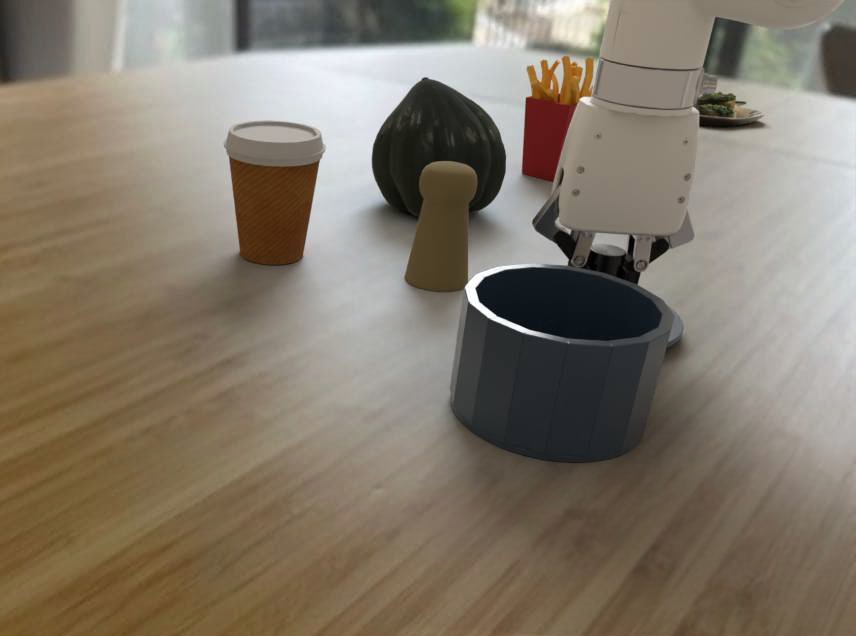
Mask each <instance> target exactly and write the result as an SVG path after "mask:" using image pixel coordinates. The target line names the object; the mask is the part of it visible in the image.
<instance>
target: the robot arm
mask: <svg viewBox="0 0 856 636" xmlns="http://www.w3.org/2000/svg"><path fill="white" fill-rule="evenodd" d="M844 1H845V0H609V4H608V10H607V15H606V19H605V25H604V30H603V34H602V40H601V46H600V50H599V56H598V59H597V65H596V71H595V75H594V81H593V84H594V85H592V86H593V90H592V95H591V97H582V98H580V100H579V102H578V104H577V107H576V109H575V112H574V114H573V117H572V120H571V123H570V126H569V129H568V132H567V135H566V138H565V142H564V145H563V149H562V152H561V156H560V160H559V163H558V167H557V171H556V175H555V179H554V181H553V184H552V187H551V192H550V193H551V194H550V197H549V198H548V199H547V200H546V201H545V203H544V204H543V205H542V207H541V208H540V209H539V211H538V212H537V213H536V215H535V216H534V218H533V219H532V221H531V224H532V227H533V229H534V231H535V232H536V233H538V234H539V235H541V236H543V237H544V238H546V239H547V240H549V241H551V242H553V243H554V244H556V246H557V247H558V248H559V250H560V251H561V252H562V254H564V256H565V257H566V258H567V265H566V266H572V267H577V268H582V269H587V270H590V268H589V267H588V256H589V252H590V249H591V246H592V245H593V243H594V240H595V237H596V234H609V235H625V236H627V238H626V245H625V251H626V257H625V262H624V266H623V270H622V274H621V279H623V280H626V281H629V282H631V283H634V284H637V285H639V282H640V277H641V274H642V273H643V272H645V271H646V270H647V269H648V268H649V265H650V264H651V263H653V262H654V261H656V260H657V259H659V258H660V257H662V255H664V254H665V253H667V252H668V251H669V250H673V249H676V248H678V247H680V246H683V245H685V244H689V243H690V242H692V241H693V240H694V239H695V231H694V227H693V223H692V221H691V216H690V214H689V210H688V207H689V202H690V198H691V192H692V188H693V183H694V176H695V171H696V165H697V164H696V163H697V156H698V146H699V145H698V144H699V134H700V133H699V132H700V125H699V111H698V110H697V109H696V108H694V107H693V104H696V103H697V99H698V98H699V97H700V96H702V95H703V94H704V93H707V94H713V93H716V90H717V88H718V83H719V82H718V81H719V79H718V76H717V75H711V74H708V73H706V72H705V71H706V68H704V63H705V59H706V56H707V51H708V47H709V45H710V40H711V35H712V31H713V27H714V23H715V20H716V18H720V19H725V20H730V21H734V22H739V23H744V24H749V25H752V26H755V27H760V28H764V29H770V30H778V31H779V30H780V31H781V30H782V31H787V30H796V29H800V28H805V27H807V26H810V25H813V24H815V23H818V22H820V21H822V20H823V19H825V18H826V17H828V16H829V15H830V14H832V13H833V12H834V11H835V10H837V9H838V8H839V7H840V6H841V5H842V4H843V3H844ZM557 220H558V222H559V224H560V225H559V224H558V223H556V221H557ZM567 229H568V230H570V233H569V232H568V231H567Z"/></svg>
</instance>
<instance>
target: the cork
mask: <svg viewBox="0 0 856 636" xmlns="http://www.w3.org/2000/svg"><path fill="white" fill-rule="evenodd" d="M477 183H478V182H477V175H476V173H475V171H474V170H473V169H472V168H471V167H470V166H468V165H465V164H462V163H458V162H452V161H439V162H433V163H431V164H429V165H427V166H426V167H425V168H424V169H423V171H422V174H421V176H420V181H419V188H420V193H421V194H422V196H423V198H424V200H423V204H422V208H421V212H420V216H419V217H418V220H417V225H416V229H415V233H414V237H413V241H412V244H411V245H412V246H411V249H410V253H409V257H408V262H407V265H406V270H405V274H404V279H405V281H406V282H407V283H409V285H411V286H414V287H415V288H419V289H422V290H425V291H430V292H439V293H440V292H446V293H447V292H456V291H460V290H464V287H465V285H466V284H467V283H468V282H469V213H468V203H469V202H470V201H471V200H472V199H473V198H474V195H475V193H476V190H477Z"/></svg>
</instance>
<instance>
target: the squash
mask: <svg viewBox="0 0 856 636" xmlns="http://www.w3.org/2000/svg"><path fill="white" fill-rule="evenodd" d="M375 136H376V137H375V139H374V141H373V145H372V153H371V170H372V175H373V178H374V181H375V183H376V185H377V187H378V189H379V192H380V193H381V195H382V197H383V198H384V200H385V201H386V203H387V204H388V205H389V206H390V207H391V208H393V209H395V210H396V211H398V212H402V213H410V214H411V215H412V216H414V217H417V218H419V216H420V212H421V208H422V204H423V200H424V198H423V196H422V194H421V193H420V188H419V181H420V176H421V174H422V171H423V169H424V168H425V167H426V166H427V165H429V164H431V163H433V162H439V161H452V162H458V163H462V164H465V165H468V166H470V167H471V168H472V169H473V170H474V171H475V173H476V175H477V182H478V183H477V190H476V193H475V195H474V198H473V199H472V200H471V201H470V202H469V203H468V214H472V213H477V212H479V211H481V210H483V209H485V208H487V207H488V206H489V205H490V204H491V203H493V202H494V201H495V199H496V198H497V196H498V195H499V193H500V192H501V189H502V187H503V183H504V180H505V176H506V170H507V153H506V148H505V144H504V141H503V139H502V135H501V132H500V129H499V127H498V126H497V124H496V122H495V121H494V120H493V118H492V116H491V115H490V114H489V113H488V112H487V111H486V110H485V109H484V108H483V107H482V106H481V105H480V104H478V103H477V102H475V101H474V100H472V99H471V98H469V97H468V96H466V95H464V94H463V93H462V92H460V91H458V90H456V89H455V88H453V87H451V86H449V85H447V84H445V83H443V82H441V81H439V80H436V79H431V78H429V77H426V76H424V77H422V78H421V80H419V81H418V82H416V83H415V84H414V85H413V86H412V87H411V88H410V89H409V91H408V92H407V93H406V94H405V96H404V97H403V98H402V100H401V101H400V102H399V103H398V104H397V106H396V107H395V108H394V109H393V111H392V112H391V113H390V114H389V115H388V116H387V118H386V119H385V120H384V121H383V123H382V124H381V126H380V128H379V130H378V132H377V134H376V135H375Z"/></svg>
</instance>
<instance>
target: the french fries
mask: <svg viewBox="0 0 856 636" xmlns="http://www.w3.org/2000/svg"><path fill="white" fill-rule="evenodd" d="M594 61H595V60H594V58H593V57H587V58H586V59H585V61H584V62H585V63H584V64H585V69H584V68H583V67H581V66H578V65H579V63H578V62H577V61H575V60H574V61H572V62H571V57H570V56H569V55H568V56H567V55H564V56H562V57H561V61H560V60H559V59H556V60H555V61H554V62H553V64H552V66H551V67H550V69H549V63H548V60H547V59H541V60H540V68H541V81H540V80H539V79H538V76H537V72H536V69H535V66H534V65H533V64H532V65H527V66H526V69H525V70H526V72H527V76H528V78H529V83H530V89H531V91H530V92H531V95H530V96H525V105H524V121H523V123H524V124H523V139H522V140H523V142H522V159H521V160H522V161H521V174H523V175H526V176H531V177H535V178H539V179H541V180H546V181H550V182H554V179H555V175H556V171H557V167H558V163H559V160H560V156H561V152H562V149H563V145H564V142H565V138H566V135H567V132H568V129H569V126H570V123H571V120H572V117H573V114H574V112H575V109H576V107H577V104H578V102H579V100H580V98H582V97H591V95H592V90H593V85H594V83H593V85H592V82H593V77H594V65H595V63H594ZM561 63H562V69H563V77H562V83H561V87H560V84H559V80H558V79H557V76H556V73H555V71H556V69H557V67H559V65H560V64H561ZM583 71H584V78H583V81H582V84H581V87H580V83H581V79H582V76H583ZM551 84H552V88H551Z"/></svg>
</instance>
